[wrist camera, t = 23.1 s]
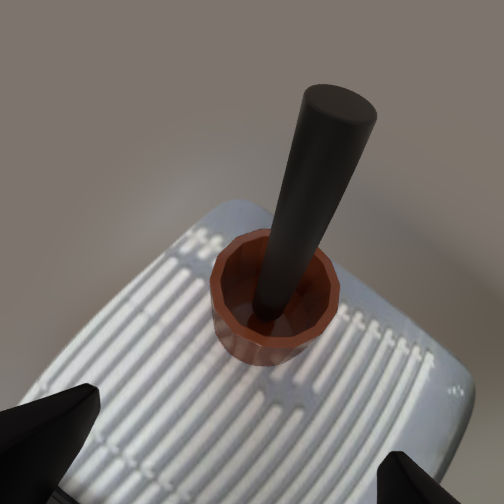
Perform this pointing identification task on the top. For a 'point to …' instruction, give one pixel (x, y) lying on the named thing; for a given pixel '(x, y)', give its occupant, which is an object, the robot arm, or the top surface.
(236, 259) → the pencil cup
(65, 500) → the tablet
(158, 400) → the top surface
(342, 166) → the stylus
